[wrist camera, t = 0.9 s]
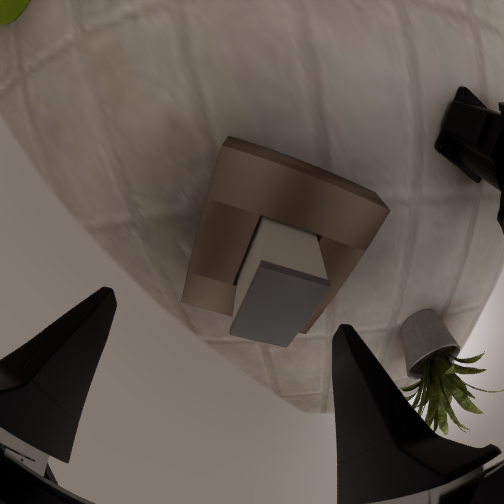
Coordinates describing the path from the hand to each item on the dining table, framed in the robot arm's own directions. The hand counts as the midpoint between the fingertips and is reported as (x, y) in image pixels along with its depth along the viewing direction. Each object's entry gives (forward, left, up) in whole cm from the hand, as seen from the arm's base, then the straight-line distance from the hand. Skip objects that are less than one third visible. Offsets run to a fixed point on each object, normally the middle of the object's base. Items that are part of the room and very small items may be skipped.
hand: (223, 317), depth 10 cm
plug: (-4, +4, -12) cm, 13 cm away
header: (-4, +4, -12) cm, 13 cm away
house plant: (-25, +10, -13) cm, 29 cm away
